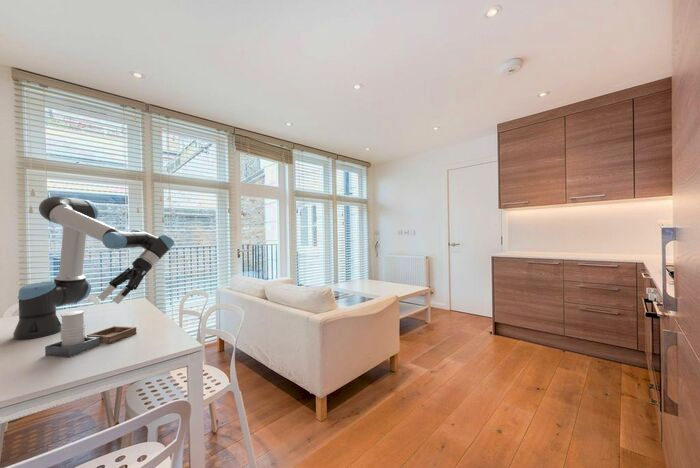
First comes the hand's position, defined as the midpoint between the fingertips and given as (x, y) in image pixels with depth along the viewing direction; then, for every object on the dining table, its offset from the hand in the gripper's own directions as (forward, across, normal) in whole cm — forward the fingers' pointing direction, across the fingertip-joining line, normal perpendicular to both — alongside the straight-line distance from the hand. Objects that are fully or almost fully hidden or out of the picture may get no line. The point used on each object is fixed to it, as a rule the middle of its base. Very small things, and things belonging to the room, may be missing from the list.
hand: (107, 300), depth 123 cm
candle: (+20, 0, -5) cm, 21 cm away
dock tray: (+11, +3, -14) cm, 18 cm away
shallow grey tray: (+20, 0, -4) cm, 21 cm away
